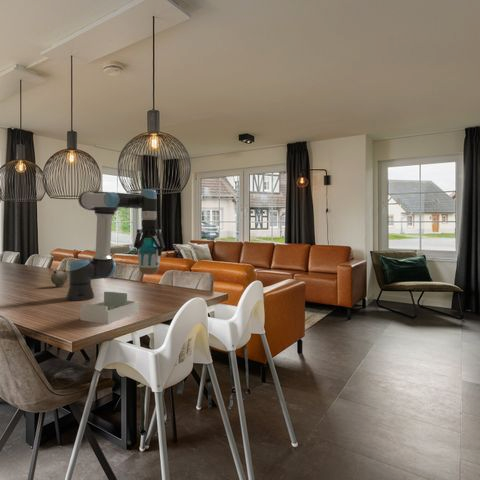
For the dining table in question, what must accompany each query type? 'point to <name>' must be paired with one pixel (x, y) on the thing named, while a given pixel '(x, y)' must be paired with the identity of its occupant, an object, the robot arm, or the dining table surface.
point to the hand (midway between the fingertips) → (149, 261)
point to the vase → (148, 257)
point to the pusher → (114, 299)
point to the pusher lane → (107, 312)
